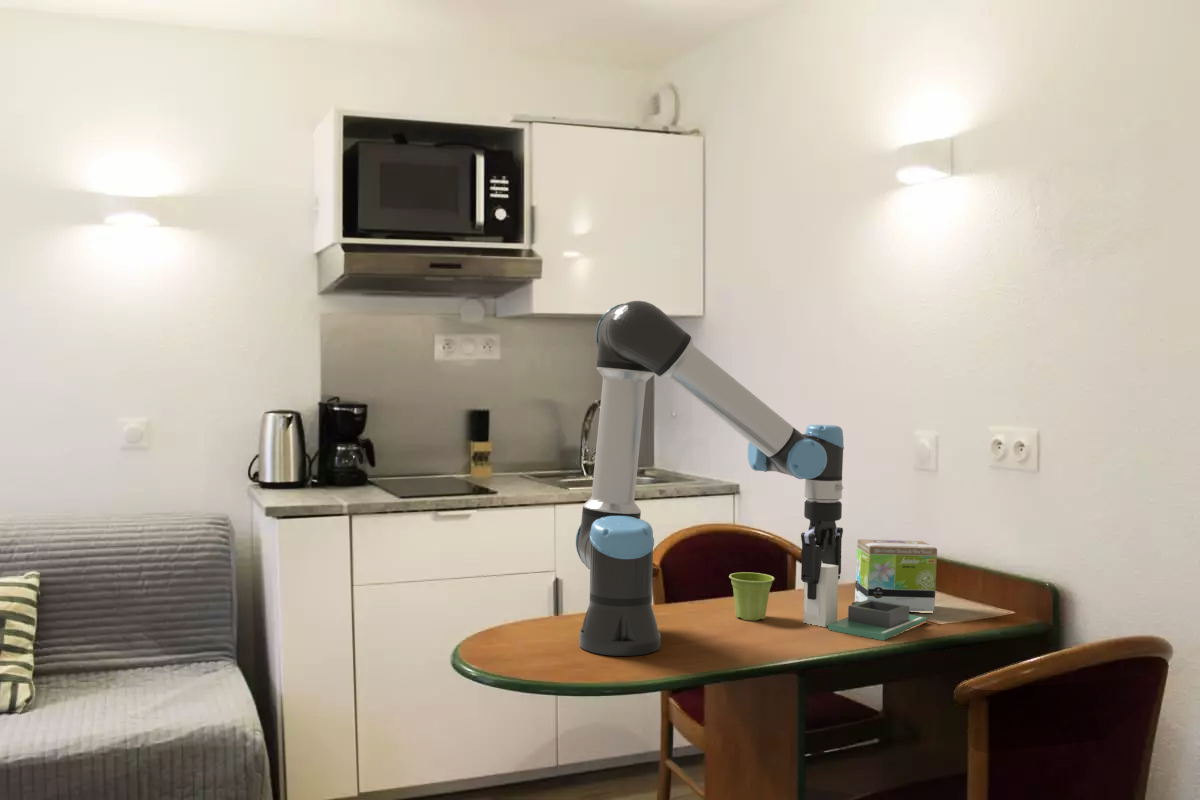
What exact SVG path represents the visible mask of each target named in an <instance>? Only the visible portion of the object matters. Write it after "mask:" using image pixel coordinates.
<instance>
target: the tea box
mask: <svg viewBox="0 0 1200 800" xmlns="http://www.w3.org/2000/svg"><path fill="white" fill-rule="evenodd" d="M856 545H857V548H856V567H855V588H854V602H856V601H858V602H862V601H865V600H868V599H869V600H875V601H881V602H887V603H893V604H899V605H905V606H909V612H911V611H934V612H935V607H936V606H935V604H936V583H937V580H936V579H937V562H938V561H937V560H938V559H937V558H938V548H936V547H935V546H933V545H931V544H929V543H927V542H925V541H923V540H903V539H902V540H899V539H898V540H897V539H867V538H861V539H860V538H859V539H857V544H856Z"/></svg>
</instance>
